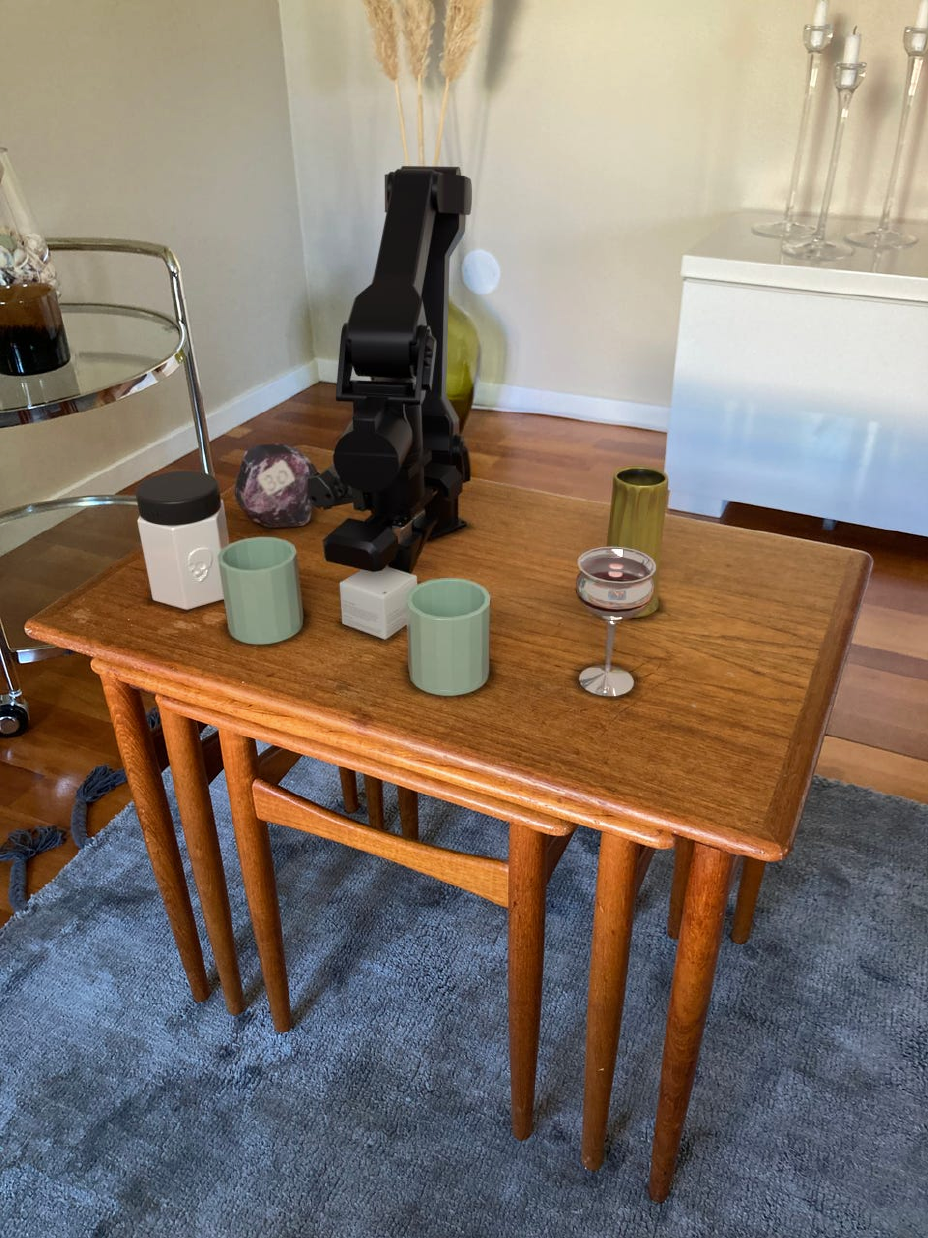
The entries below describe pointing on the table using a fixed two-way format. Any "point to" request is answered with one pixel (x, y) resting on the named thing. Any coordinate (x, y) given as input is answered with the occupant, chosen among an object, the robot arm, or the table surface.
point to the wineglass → (613, 605)
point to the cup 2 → (448, 636)
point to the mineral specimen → (275, 485)
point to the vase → (639, 516)
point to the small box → (376, 601)
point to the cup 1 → (261, 589)
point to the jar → (182, 537)
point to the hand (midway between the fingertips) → (401, 585)
